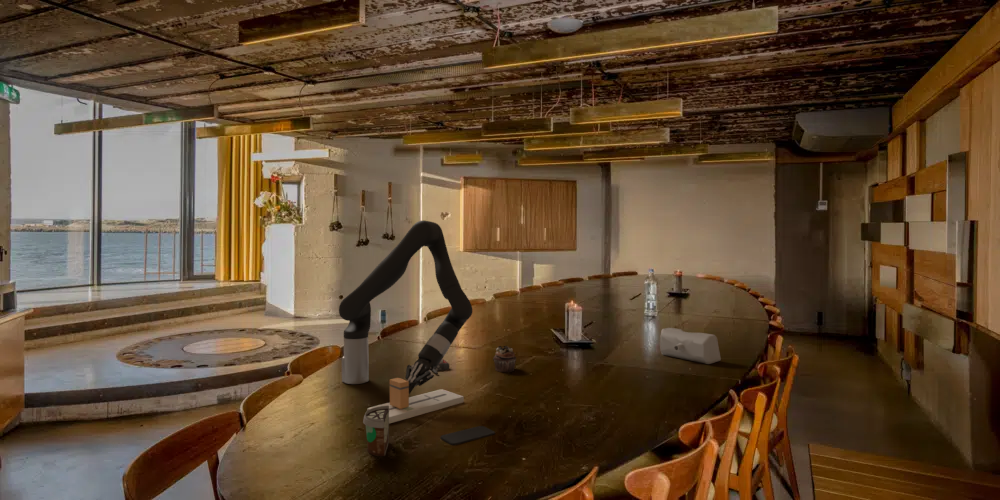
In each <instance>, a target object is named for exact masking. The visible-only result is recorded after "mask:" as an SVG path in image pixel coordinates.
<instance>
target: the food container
mask: <svg viewBox="0 0 1000 500" xmlns="http://www.w3.org/2000/svg"><path fill="white" fill-rule="evenodd" d="M362 423H363V424H364V425H365V431H366V432H365V433H366V443H367V445H366V446H367V452H368V453H369V454H371V455H373V456H377V457H385V456H386V453H387V449H388V446H389V443H390V442H389V441H390V424H389V406H379V407H375V408H372V409H370V410H368V411H367V410H366V412H365V413H364V416H363V421H362Z"/></svg>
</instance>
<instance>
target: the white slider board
mask: <svg viewBox="0 0 1000 500" xmlns="http://www.w3.org/2000/svg"><path fill="white" fill-rule="evenodd" d="M464 398H465V396H463V395H460V394H458V393H455V392H452V391H448V390H445V389H443V388H441V389H437V390H436V389H435V390H434V391H432V390H431V391H429V392H424V393H421V394H417V395H413V396H409V407H406V408H402V409H399V408H397V407H394V406H392V405H390V401H389V402H386V403H382V404H378V405H374V406H371V407H368V408H366V409H367V410H366V411H368V410H370V409H372V408H375V407H379V406H389V425H390V424H392V423H396V422H400V421H403V420H407V419H410V418H413V417H418V416H420V415H424V414H427V413H430V412H434V411H438V410H441V409H445V408H448V407H452V406H456V405H458V404H462V403H464Z"/></svg>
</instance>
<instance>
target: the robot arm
mask: <svg viewBox="0 0 1000 500" xmlns="http://www.w3.org/2000/svg"><path fill="white" fill-rule="evenodd" d="M423 247H427V248H428V251H430V253H431V255H432V258H433V262H434V271H435V277H436V281H437V284H438V287H439V289H440V291H441V294H442V297H443V298H444V300H448V303H449V305H450V306H451V308H450V310H449V311H448V313H447V314H446V316H445V318H444V319H443V321H442V322H441V323H440V324H439V326H438V327H437V328H436V330H435V331H434V332H433V334H432V335H431V336H430V337H429V338H428V339H427V341H426V342H425V344H424V346H422V348H421V350H420V351H419V353H418V355H417V356H418V359H417V360H416V361H415V362H414V363H413V364H412V365H410V364H408V365H406V371H405V376H404V377H405V380H406V381H409V395H410V394H411V393H412V391H413V390H414V388H416V387H417V386H419V387H421V386H423V385H424V384H426V383H427V382H428V381H430V380H432V379H433V378H434V376H435V375H434V374H433V371H432V370H433V368H436V367H437V366H438V364H439V363H440V361H441V360H442V359H443V360H444V357H445V356H446V354H447V352H448V351H449V349H450V347H451V345H452V344H453V342H454V341H455V339H457V337H458V335H459V333H460V331H461V329H462V327H464V325H465V324H466V322H467V321H468V320H469V319H470V318H471V317H472V314H473V306H472V303H471V301H470V299H469V297H468V295H466V293H465V292H464V291H463V289H462V287H461V284H460V282H459V279H458V277H457V274H456V272H455V271H454V268H453V264H452V262H451V259H450V256H449V251H448V248H447V245H446V240H445V236H444V233H443V230H442V227H441V226H440V225H439V224H438V223H436V222H434V221H429V220H418V221H416V222H415V223H414V224H413V225H412V226H411V227H410V229H409V230H408V231H407V233H406V234H405V235H404V237H403V238H402V239H401V240H400V241H399V243H398V244H397V245H396V246H395V247H394V248H393V249H392V250H391V251H390V252H389V253H388V254H387V256H385V257H384V258H383V260H382V261H381V262H379V264H378V265H377V266H376V267H375V268H374V269H373V270H372V271H371V272H370V273H369V274H368V276H366V278H365V279H364V280H363V281H362V282H361V283H360V285H358V286H357V287H356V288H355V289H354V290H353V291H352V292H350V293H349V294H348V295H347V296H346V297H344V298H343V299H342V301H341V302H340V304H339V306H338V313H339V316H340V318H341V319H343V320H344V321H349V323H348V326H347V327H346V328H345V329H344V330H343V356H342V357H341V382H342V383H344V384H349V385H359V384H365V383H367V382H369V380H370V379H369V377H370V376H369V373H370V372H369V368H370V367H369V364H370V363H369V332H370V329H371V321H372V320H371V318H372V307H371V303H370V302H371V301H372V300H373V299H375V298H377V297H378V296H380V295H381V294H383V293H385V292H386V291H388V290H389V289H390V288H391V287H393V286H394V285H395V284H396V283H397V282H398V281H399V280H400V279H401V278H402V276H403V275H404V274H405V273H406V270H407V269H408V266H409V263H410V260H411V259H412V257H413V256H414V255H416V253H417V252H419V251H420V250H421V249H422V248H423Z"/></svg>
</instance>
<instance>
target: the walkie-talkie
mask: <svg viewBox="0 0 1000 500" xmlns="http://www.w3.org/2000/svg"><path fill="white" fill-rule="evenodd" d="M449 370H450V363H449V362H448V361H446V360H445V359H444V358H443V359H442V360H441V361H440V363H439V364H438V366H437V367H436V368H433V370H432V373H435V374H436V375H439V372H438V371H449Z"/></svg>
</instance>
